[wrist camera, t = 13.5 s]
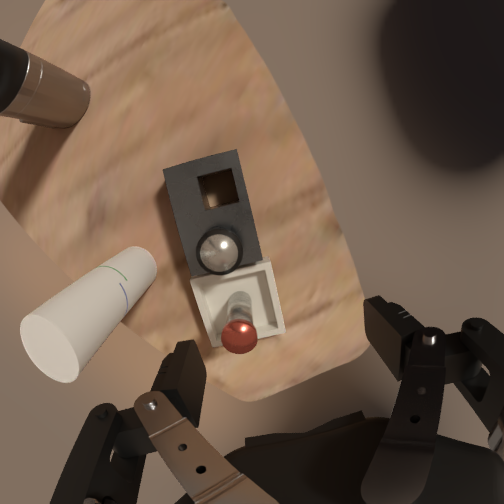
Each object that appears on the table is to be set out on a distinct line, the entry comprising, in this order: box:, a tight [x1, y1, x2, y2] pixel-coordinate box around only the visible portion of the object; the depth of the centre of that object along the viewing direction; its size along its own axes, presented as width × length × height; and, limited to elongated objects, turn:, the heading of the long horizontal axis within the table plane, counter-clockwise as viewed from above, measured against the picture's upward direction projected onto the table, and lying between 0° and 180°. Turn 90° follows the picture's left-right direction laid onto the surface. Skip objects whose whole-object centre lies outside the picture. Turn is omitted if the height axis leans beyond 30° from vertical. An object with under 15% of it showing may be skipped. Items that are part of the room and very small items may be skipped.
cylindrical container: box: [20, 246, 157, 383], centre depth 30 cm, size 7×7×25 cm
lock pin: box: [221, 291, 258, 354], centre depth 38 cm, size 4×4×11 cm
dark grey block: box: [163, 149, 263, 276], centre depth 36 cm, size 10×15×8 cm, turn 13°
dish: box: [190, 256, 286, 347], centre depth 43 cm, size 12×12×3 cm
